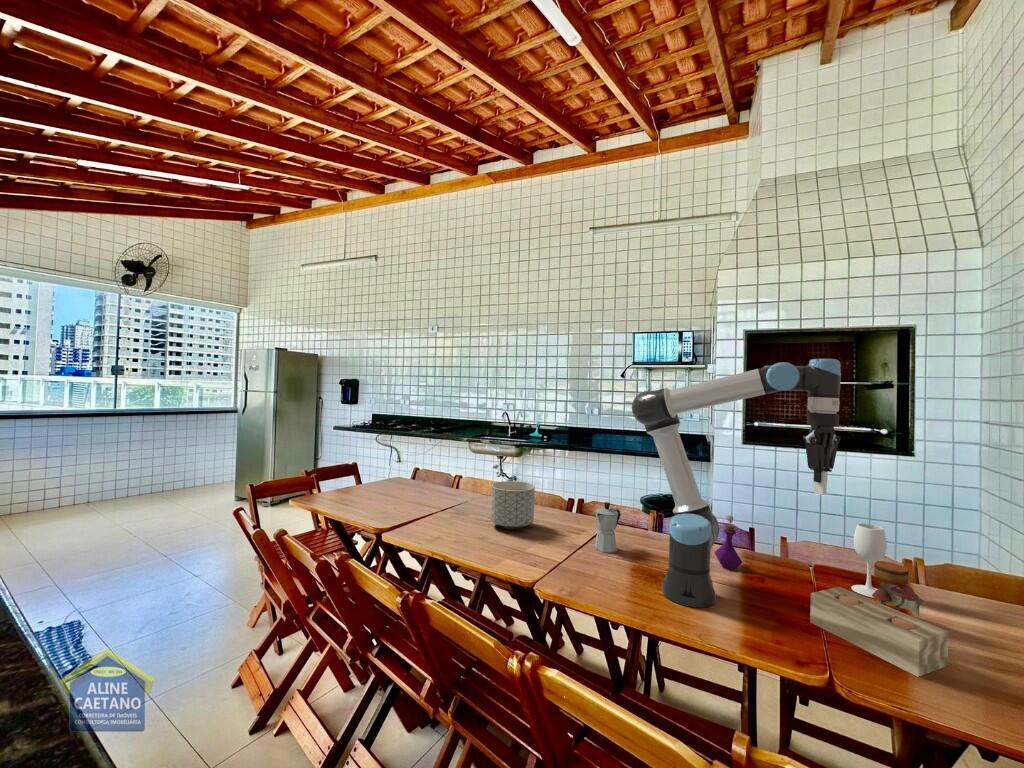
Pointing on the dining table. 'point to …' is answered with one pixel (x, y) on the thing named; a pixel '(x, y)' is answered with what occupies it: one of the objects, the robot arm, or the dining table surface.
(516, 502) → the planter
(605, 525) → the coffee maker
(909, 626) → the front peg
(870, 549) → the wineglass
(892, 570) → the toy burger
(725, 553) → the perfume bottle
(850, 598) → the rear peg
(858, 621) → the socket block
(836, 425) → the robot arm
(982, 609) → the dining table surface
